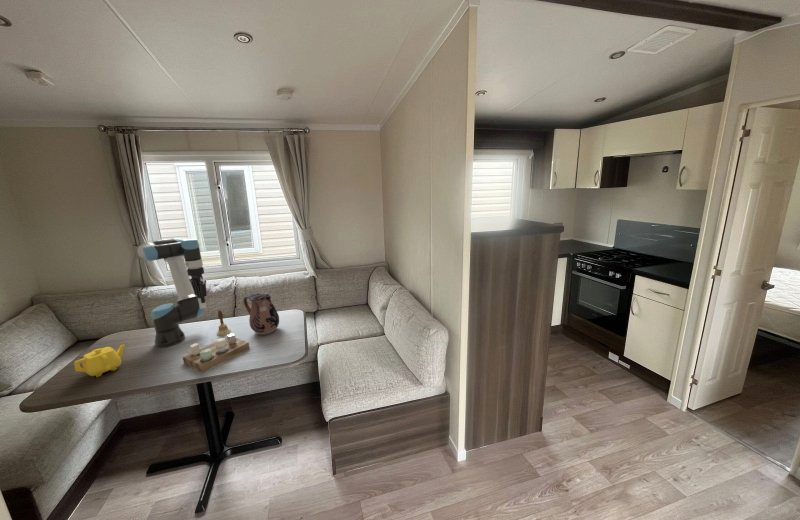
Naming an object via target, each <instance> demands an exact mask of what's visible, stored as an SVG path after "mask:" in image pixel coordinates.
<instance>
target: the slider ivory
mask: <svg viewBox="0 0 800 520" xmlns="http://www.w3.org/2000/svg"><path fill="white" fill-rule="evenodd" d="M200 349H201V348H200V345H199V343H197V342H194V343H193V344H191V345H189V350H190V353H192V355H197V354H199V353H200Z"/></svg>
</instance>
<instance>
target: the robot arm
mask: <svg viewBox="0 0 800 520" xmlns="http://www.w3.org/2000/svg"><path fill="white" fill-rule="evenodd" d="M136 253H137V255H138V256H139V257H140V258H142V259H144V260H145V261H147V262H151V261H157V260H162V259H163V261H164V262H166V263H167V264H168V268H169V271H170V274H171V276H172V281H173V283H174V287H175V290H176V294H177V297H178V299H177V300H176V303H177V304H174V303H172V302H168V303H164V304H161V305H158V306H157V307H155V308H153V309H152V310H151V313H150V314H151V315H150V316H151V320H152V323H153V326H154V331H155V336H154V337H155V338H154V346H155V347H156V348H169V347H171V346H174V345H178V344H180V343H182V342H183V341H184V340H185V339H186V334H185V333H184V331H183V330H182V329H181V327H180V325H179V323H183V322H187V321H190V320H192V319H198V318H199V317H202V316H203V315H204V313H205V309H206V308H207V302H206V298H205V297H207V296H208V295H207V280H204V276H203V275H204V274H205V268H204V267H203V266H204V264H203V260H202V259H203V258H202V254H201V250H200V244H199V241H198V239H197V238H186V239H182V238H180V237H171V238H163V239H157V240H149V241H146V242H143V243H141V244H139V245H138V247H137V249H136ZM190 277H191V278H190Z"/></svg>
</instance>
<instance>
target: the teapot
mask: <svg viewBox="0 0 800 520" xmlns="http://www.w3.org/2000/svg"><path fill="white" fill-rule="evenodd" d="M125 347H126V344H121V345H120V346H119V348H118V349H117V351H116V350H115V349H114V348H113V347H111V346H105V347H100V348H96V349H93V350H91V351H90V352H88V353H86V354H85V353H84V355H83V358H81V359H77V360H74V371H75V372H81V373H82V372H83V373H86V375H88V376H91V377H95V376H96V377H95V378H99V376H100V377H102V376H103V373H106V372H108V371H111V372H113V371H117V370H118V367H119V366H122V365H121V364H122V356H123V353H124V351H125ZM81 363H82V366H81ZM116 369H117V370H116ZM101 375H102V376H101Z"/></svg>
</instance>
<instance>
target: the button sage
mask: <svg viewBox="0 0 800 520" xmlns="http://www.w3.org/2000/svg"><path fill="white" fill-rule="evenodd" d="M200 356H201V360H202V361H206V360H209V359H211V358H212V357H213V356H212V352H211V349H205V350H202V351H201V352H200Z"/></svg>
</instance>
